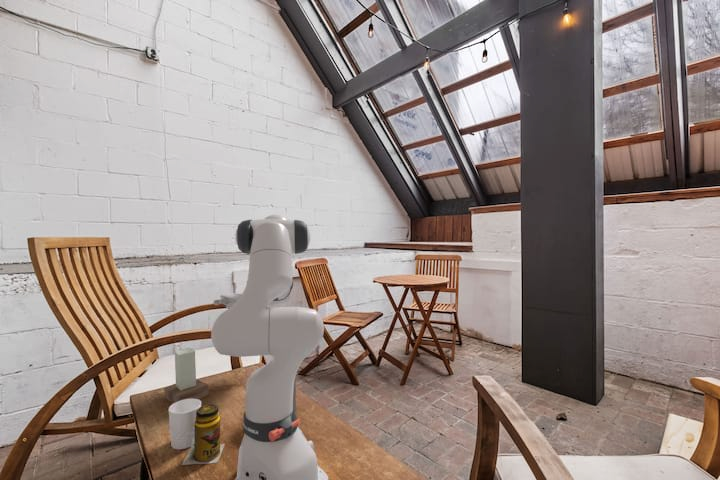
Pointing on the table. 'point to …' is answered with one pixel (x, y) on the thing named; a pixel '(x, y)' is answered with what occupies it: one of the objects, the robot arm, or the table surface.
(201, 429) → the condiment
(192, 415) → the white cup
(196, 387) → the walnut base
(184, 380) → the sage block
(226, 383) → the table surface
